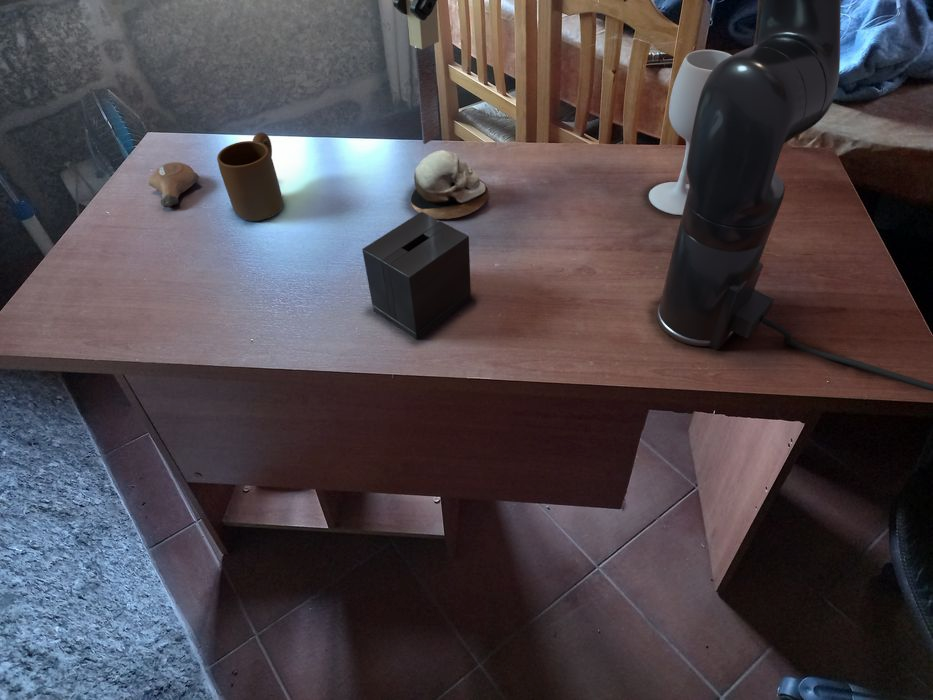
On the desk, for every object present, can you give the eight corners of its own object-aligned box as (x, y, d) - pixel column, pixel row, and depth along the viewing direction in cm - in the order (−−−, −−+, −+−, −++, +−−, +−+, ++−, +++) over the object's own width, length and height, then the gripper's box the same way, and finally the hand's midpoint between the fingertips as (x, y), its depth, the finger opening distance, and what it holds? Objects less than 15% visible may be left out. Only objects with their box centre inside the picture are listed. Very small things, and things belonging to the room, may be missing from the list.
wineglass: (690, 179, 103) (724, 42, 88) (718, 210, 97) (760, 68, 82) (639, 189, 101) (664, 51, 86) (664, 220, 96) (697, 78, 80)
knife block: (471, 298, 85) (469, 235, 78) (416, 339, 80) (409, 277, 73) (427, 272, 89) (421, 211, 82) (373, 310, 84) (361, 248, 77)
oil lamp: (139, 204, 104) (175, 217, 101) (127, 184, 101) (163, 197, 98) (179, 170, 109) (214, 183, 106) (168, 150, 105) (204, 162, 103)
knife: (444, 137, 84) (434, -36, 69) (429, 146, 82) (416, -29, 68) (433, 132, 85) (421, -40, 70) (418, 141, 83) (402, -33, 69)
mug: (255, 178, 107) (239, 124, 100) (300, 181, 106) (287, 126, 99) (226, 221, 99) (206, 165, 92) (274, 224, 98) (257, 168, 91)
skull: (485, 165, 105) (489, 144, 95) (487, 229, 105) (491, 214, 95) (411, 166, 105) (407, 145, 95) (412, 230, 105) (408, 216, 95)
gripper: (414, -182, 68) (344, -20, 71) (517, -168, 62) (435, 9, 64) (451, -129, 75) (385, 16, 77) (548, -112, 68) (472, 46, 71)
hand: (408, 12), depth 71 cm, fingers closed on knife, 2 cm apart
